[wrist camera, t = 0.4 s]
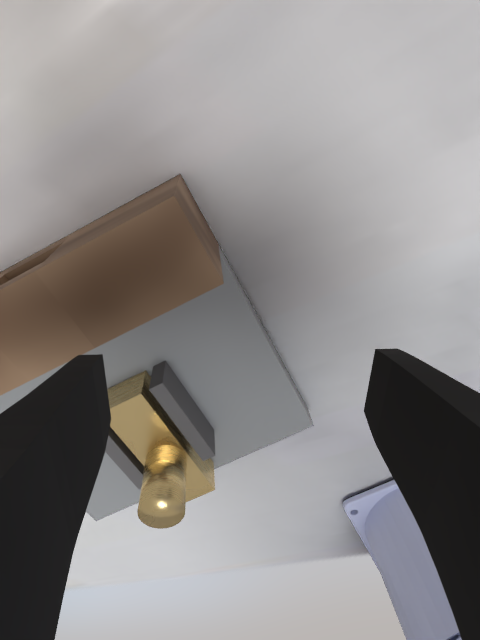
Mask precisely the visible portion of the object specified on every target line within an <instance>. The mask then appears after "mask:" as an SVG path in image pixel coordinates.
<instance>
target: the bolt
mask: <svg viewBox="0 0 480 640" xmlns="http://www.w3.org/2000/svg"><path fill="white" fill-rule="evenodd" d="M150 381H151V377H150V375H149V374H148V373H147V371H144V372H142V373H140V374H137V375H135V376H133V377H131V378H129V379H127V380H125V381H123V382H121V383H119V384H117V385H115V386H113V387H111V388H109V389H107V391H108V398H109V406H110V413H111V423H110V427H111V428H112V429H113V430H114V431H115V433H116V434H117V435H118V436H119V437H120V439H121V440H122V441H123V442H124V443H125V444H126V446H127V447H128V448H129V449H130V450H131V451H132V453H133V454H134V455H135V456H136V457H137V459H138V460H139V461H140V462H141V463H142V464H143V466H144V473H143V480H142V486H141V493H140V499H139V506H138V517H139V519H140V520H141V521H142V522H143V523H144V524H146V525H147V526H150V527H153V528H168V527H172V526H174V525H176V524H178V523H179V522H180V521H181V520H182V519H183V517H184V515H185V502H188V501H190V500H192V499H195V498H197V497H199V496H202V495H204V494H206V493H208V492H211V491H213V490H215V482H214V462H213V461H212V460H211V458H209V459H207V460H205V461H202V459H201V458H200V457H199V455H198V454H197V453H196V451H195V450H194V449H193V447H192V446H191V445H190V443H189V442H188V441H187V439H186V438H185V437H184V435H183V434H182V433H181V431H180V430H179V429H178V427H177V426H176V425H175V423H174V422H173V421H172V419H171V418H170V417H169V415H168V414H167V413H166V411H165V410H164V409H163V407H162V406H161V405H160V403H159V402H158V401H157V399H156V398H155V397H154V395H153V394H152V393H151V391H150V390H149V387H150Z"/></svg>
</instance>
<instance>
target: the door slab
mask: <svg viewBox="0 0 480 640" xmlns="http://www.w3.org/2000/svg"><path fill="white" fill-rule="evenodd" d="M218 245H219V244H218ZM219 252H220V260H221V267H222V274H223V281H224V284H222V285H220V286H218V287H216V288H214V289H212V290H210V291H208V292H206V293H204V294H202V295H200V296H198V297H196V298H194V299H192V300H190V301H188V302H186V303H184V304H182V305H180V306H178V307H176V308H174V309H172V310H170V311H168V312H166V313H164V314H162V315H160V316H158V317H156V318H154V319H152V320H150V321H148V322H146V323H144V324H142V325H140V326H138V327H136V328H134V329H132V330H130V331H128V332H126V333H124V334H122V335H120V336H118V337H116V338H114V339H112V340H110V341H108V342H106V343H104V344H102V345H100V346H98V347H96V348H94V349H92V350H90V351H88V352H86V353H84V354H82V355H98V354H103V361H104V368H105V376H106V383H107V389H109V388H111V387H113V386H115V385H117V384H119V383H121V382H123V381H125V380H127V379H129V378H131V377H133V376H135V375H137V374H140V373H142V372H144V371H147V373H148V374H149V375H150V377H151V381H150V387H149V390H150V391H151V393H152V394H153V395H154V397H155V398H156V399H157V401H158V402H159V403H160V405H161V406H162V407H163V409H164V410H165V411H166V413H167V414H168V415H169V417H170V418H171V419H172V421H173V422H174V423H175V425H176V426H177V427H178V429H179V430H180V431H181V433H182V434H183V435H184V437H185V438H186V439H187V441H188V442H189V443H190V445H191V446H192V447H193V449H194V450H195V451H196V453H197V454H198V455H199V457H200V458H201V459H202V461H205V460H207V459H209V458H211V460H212V461H213V462H214V469H216V468H218V467H220V466H223V465H225V464H227V463H229V462H232V461H234V460H236V459H239V458H241V457H243V456H245V455H248V454H250V453H252V452H255V451H257V450H259V449H261V448H264V447H266V446H268V445H270V444H273V443H275V442H277V441H280V440H282V439H284V438H286V437H289V436H291V435H293V434H296V433H298V432H300V431H302V430H305V429H307V428H309V427H311V426H314V425H313V422H312V419H311V417H310V414H309V411H308V408H307V406H306V405H305V403H304V401H303V399H302V397H301V395H300V394H299V392H298V390H297V388H296V386H295V384H294V383H293V381H292V379H291V377H290V375H289V373H288V371H287V370H286V368H285V366H284V364H283V362H282V360H281V359H280V357H279V355H278V353H277V351H276V349H275V347H274V346H273V344H272V342H271V340H270V338H269V336H268V335H267V333H266V331H265V329H264V327H263V325H262V324H261V322H260V320H259V318H258V316H257V314H256V312H255V311H254V309H253V307H252V305H251V303H250V301H249V300H248V298H247V296H246V294H245V292H244V290H243V289H242V287H241V285H240V283H239V281H238V279H237V277H236V276H235V274H234V272H233V270H232V268H231V266H230V265H229V263H228V261H227V259H226V257H225V255H224V253H223V252H222V250H221V248H220V246H219ZM67 363H68V362H67ZM67 363H65V364H67ZM65 364H63V365H61V366H59V367H57V368H55V369H53V370H51V371H49V372H47V373H45V374H43V375H41V376H39V377H37V378H35V379H33V380H31V381H29V382H27V383H25V384H23V385H21V386H19V387H17V388H15V389H13V390H11V391H9V392H7V393H5V394H3V395H1V396H0V414H1V413H2V412H3V411H5V410H6V409H8V408H9V407H11V406H12V405H13V404H15V403H16V402H18V401H19V400H20V399H22V398H23V397H25V396H26V395H27V394H29V393H30V392H31V391H32V390H34V389H35V388H36V387H38V386H39V385H40V384H41V383H43V382H44V381H45V380H47V379H48V378H49V377H50V376H52V375H53V374H54V373H55V372H57V371H58V370H59V369H60V368H62V367H63V366H64V365H65ZM143 473H144V466H143V464H142V463H141V462H140V461H139V460H138V459H137V457H136V456H135V455H134V454H133V453H132V451H131V450H130V449H129V448H128V447H127V446H126V444H125V443H124V442H123V441H122V440H121V439H120V437H119V436H118V435H117V434H116V433H115V431H114V430H113V429H112V428H111V427H110V428H109V434H108V440H107V445H106V450H105V454H104V457H103V460H102V464H101V467H100V470H99V473H98V476H97V479H96V482H95V485H94V488H93V491H92V494H91V497H90V500H89V503H88V506H87V509H86V512H87V513H88V514H89V515H90V516H91V517H92V518H93V519H94V520H95V521H97V520H100V519H102V518H104V517H107V516H109V515H111V514H113V513H116V512H118V511H120V510H122V509H125V508H127V507H129V506H132V505H134V504H136V503H138V502H139V499H140V493H141V486H142V480H143Z"/></svg>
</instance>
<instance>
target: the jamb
mask: <svg viewBox="0 0 480 640" xmlns="http://www.w3.org/2000/svg"><path fill="white" fill-rule="evenodd" d="M222 284H224V281H223V274H222V267H221V260H220V252H219V245H218V242H217V241H216V239H215V237H214V235H213V233H212V231H211V230H210V228H209V226H208V224H207V222H206V220H205V218H204V217H203V215H202V213H201V211H200V209H199V207H198V206H197V204H196V202H195V200H194V198H193V196H192V195H191V193H190V191H189V189H188V187H187V185H186V183H185V182H184V180H183V178H182V176H181V174H179V175H177V176H176V177H174V178H172V179H170V180H168V181H166V182H165V183H163V184H161V185H159V186H157V187H155V188H154V189H152V190H150V191H148V192H146V193H145V194H143V195H141V196H139V197H137V198H135V199H134V200H132V201H130V202H128V203H126V204H124V205H123V206H121V207H119V208H117V209H115V210H113V211H112V212H110V213H108V214H106V215H104V216H103V217H101V218H99V219H97V220H95V221H93V222H92V223H90V224H88V225H86V226H84V227H82V228H81V229H79V230H77V231H75V232H73V233H71V234H70V235H68V236H66V237H64V238H62V239H61V240H59V241H57V242H55V243H53V244H51V245H50V246H48V247H46V248H44V249H42V250H40V251H39V252H37V253H35V254H33V255H31V256H29V257H28V258H26V259H24V260H22V261H20V262H19V263H17V264H15V265H13V266H11V267H9V268H8V269H6V270H4V271H2V272H0V396H1V395H3V394H5V393H7V392H9V391H11V390H13V389H15V388H17V387H19V386H21V385H23V384H25V383H27V382H29V381H31V380H33V379H35V378H37V377H39V376H41V375H43V374H45V373H47V372H49V371H51V370H53V369H55V368H57V367H59V366H61V365H63V364H65V363H67V362H69V361H70V360H72V359H73V358H75V357H76V356H77V355H82V354H84V353H86V352H88V351H90V350H92V349H94V348H96V347H98V346H100V345H102V344H104V343H106V342H108V341H110V340H112V339H114V338H116V337H118V336H120V335H122V334H124V333H126V332H128V331H130V330H132V329H134V328H136V327H138V326H140V325H142V324H144V323H146V322H148V321H150V320H152V319H154V318H156V317H158V316H160V315H162V314H164V313H166V312H168V311H170V310H172V309H174V308H176V307H178V306H180V305H182V304H184V303H186V302H188V301H190V300H192V299H194V298H196V297H198V296H200V295H202V294H204V293H206V292H208V291H210V290H212V289H214V288H216V287H218V286H220V285H222Z"/></svg>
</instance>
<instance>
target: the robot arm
mask: <svg viewBox="0 0 480 640" xmlns="http://www.w3.org/2000/svg"><path fill="white" fill-rule="evenodd" d="M364 412H365V415H366V418H367V421H368V424H369V427H370V430H371V433H372V435H373V438H374V441H375V443H376V445H377V447H378V449H379V451H380V453H381V455H382V457H383V459H384V461H385V463H386V465H387V467H388V469H389V470H390V472H391V474H392V476H393V478H394V480H392V481H390V482H387V483H385V484H382V485H380V486H377V487H375V488H373V489H370V490H368V491H365V492H363V493H360V494H358V495H355V496H353V497H351V498H348V499H346V500H345V501H344V502H343V508H344V510H345V512H346V514H347V515H348V517H349V519H350V521H351V522H352V524H353V526H354V528H355V529H356V531H357V533H358V535H359V536H360V538H361V540H362V542H363V543H364V545H365V547H366V549H367V550H368V552H369V554H370V556H371V557H372V559H373V561H374V562H375V564H376V566H377V568H378V569H379V571H380V573H381V575H382V578H383V581H384V583H385V586H386V588H387V591H388V593H389V596H390V599H391V601H392V604H393V606H394V609H395V611H396V614H397V616H398V619H399V622H400V624H401V627H402V629H403V632H404V635H405V637H406V640H480V393H478V392H476V391H475V390H473V389H471V388H469V387H467V386H465V385H464V384H462V383H460V382H458V381H456V380H455V379H453V378H451V377H449V376H447V375H446V374H444V373H442V372H440V371H439V370H437V369H435V368H433V367H432V366H430V365H428V364H426V363H425V362H423V361H421V360H419V359H417V358H415V357H414V356H412V355H410V354H408V353H406V352H404V351H401V350H399V349H375V354H374V360H373V365H372V370H371V376H370V381H369V386H368V392H367V397H366V402H365V408H364ZM110 423H111V413H110V406H109V398H108V391H107V383H106V376H105V368H104V361H103V354H98V355H77V356H76V357H75V358H73V359H72V360H70V361H69V362H68V363H67V364H65V365H64V366H63V367H62V368H60V369H59V370H58V371H57V372H55V373H54V374H53V375H52V376H50V377H49V378H48V379H47V380H45V381H44V382H43V383H41V384H40V385H39V386H38V387H36V388H35V389H34V390H32V391H31V392H30V393H29V394H27V395H26V396H25V397H23V398H22V399H20V400H19V401H18V402H16V403H15V404H13V405H12V406H11V407H9V408H8V409H6V410H5V411H3V412H2V413H1V414H0V640H54V639H55V634H56V629H57V624H58V619H59V614H60V610H61V605H62V600H63V595H64V591H65V586H66V582H67V577H68V573H69V568H70V564H71V559H72V555H73V551H74V547H75V544H76V540H77V537H78V533H79V530H80V527H81V524H82V521H83V518H84V515H85V512H86V509H87V506H88V503H89V500H90V497H91V494H92V491H93V488H94V485H95V482H96V479H97V476H98V473H99V470H100V467H101V464H102V460H103V457H104V454H105V450H106V445H107V440H108V434H109V428H110Z"/></svg>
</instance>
